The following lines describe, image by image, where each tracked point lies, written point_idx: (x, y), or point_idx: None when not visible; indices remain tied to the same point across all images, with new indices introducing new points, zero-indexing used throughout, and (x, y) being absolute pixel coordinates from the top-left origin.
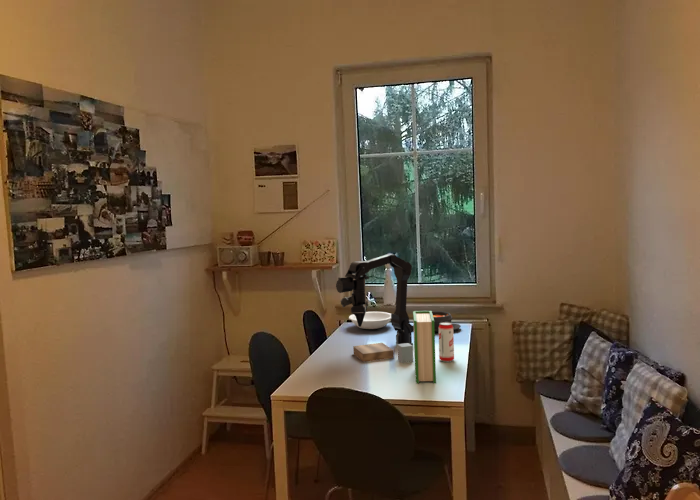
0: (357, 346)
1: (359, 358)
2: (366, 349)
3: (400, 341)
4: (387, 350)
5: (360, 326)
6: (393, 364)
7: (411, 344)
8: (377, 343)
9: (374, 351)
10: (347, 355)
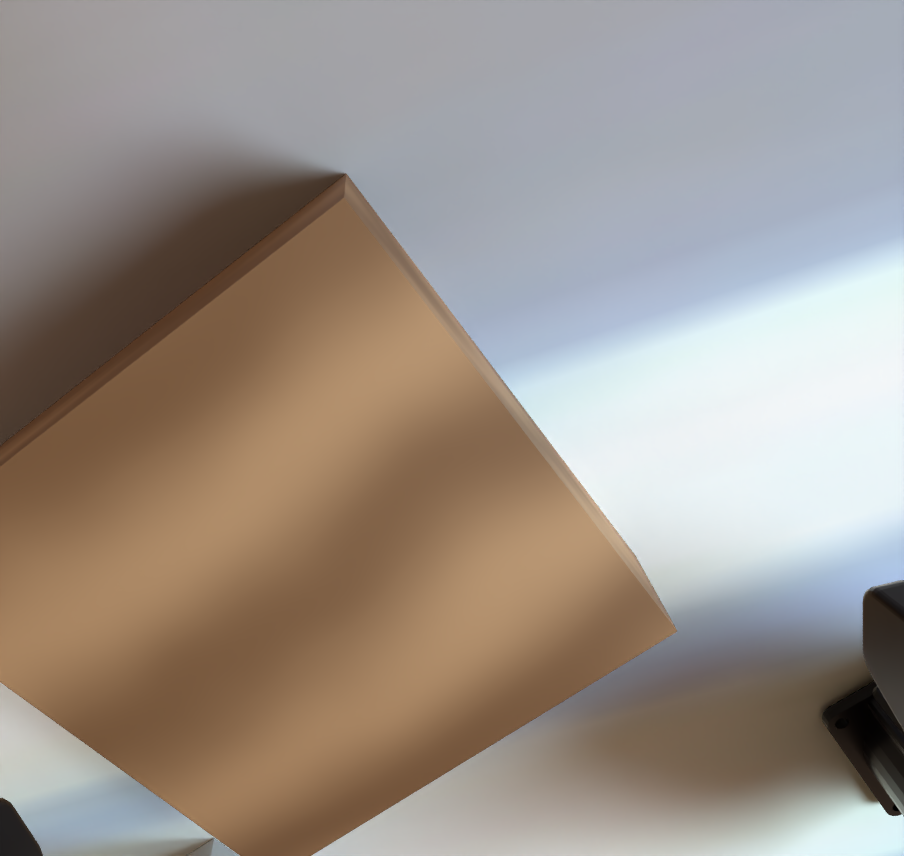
0: (342, 299)
1: (81, 382)
2: (177, 535)
3: (896, 741)
4: (225, 825)
5: (3, 851)
6: None
7: (879, 800)
8: (619, 579)
9: (99, 690)
10: (209, 84)
